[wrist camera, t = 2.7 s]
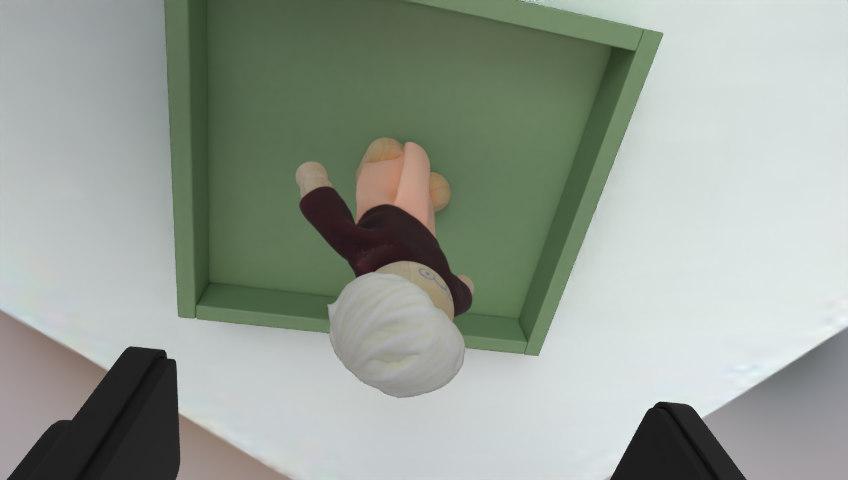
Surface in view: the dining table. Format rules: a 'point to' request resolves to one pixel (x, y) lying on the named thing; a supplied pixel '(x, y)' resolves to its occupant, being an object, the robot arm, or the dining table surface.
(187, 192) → the tray
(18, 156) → the dining table surface
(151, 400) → the robot arm
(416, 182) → the grandmother figurine
